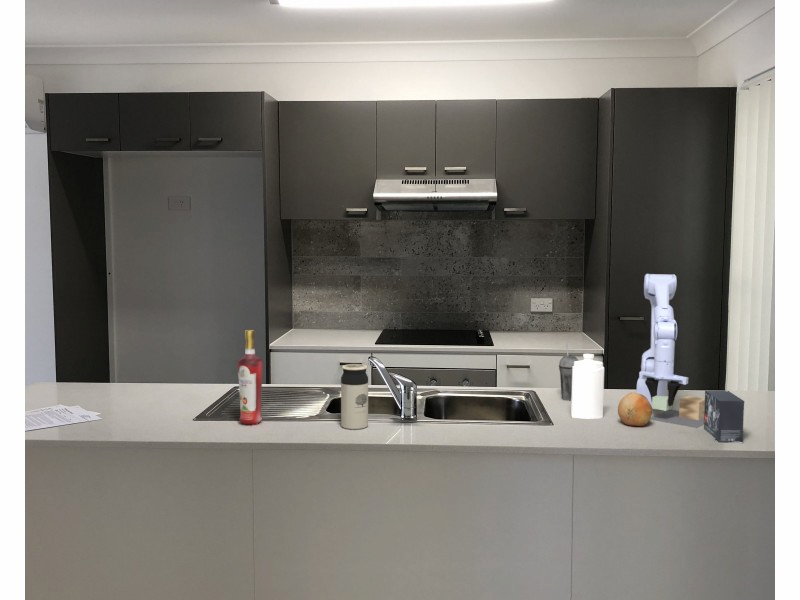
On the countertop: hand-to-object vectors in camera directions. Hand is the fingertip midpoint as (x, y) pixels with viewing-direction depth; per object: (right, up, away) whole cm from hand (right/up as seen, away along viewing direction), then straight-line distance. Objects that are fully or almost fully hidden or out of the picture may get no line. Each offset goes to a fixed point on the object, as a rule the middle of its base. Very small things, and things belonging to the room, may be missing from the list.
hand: (662, 403), depth 220 cm
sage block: (0, -1, 0) cm, 1 cm away
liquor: (-126, -5, -7) cm, 126 cm away
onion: (-11, -6, -7) cm, 14 cm away
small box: (+11, -7, -18) cm, 22 cm away
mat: (+7, -5, +1) cm, 8 cm away
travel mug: (-94, -5, -9) cm, 95 cm away
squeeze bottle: (-23, -5, +2) cm, 23 cm away
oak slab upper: (+11, -2, +3) cm, 11 cm away
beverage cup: (-22, -3, +28) cm, 36 cm away
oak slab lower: (+10, -4, +3) cm, 12 cm away
